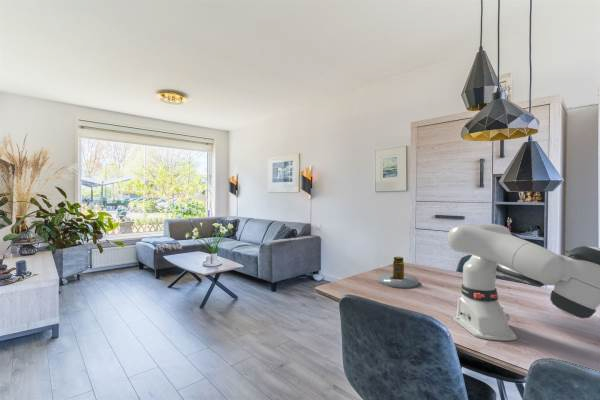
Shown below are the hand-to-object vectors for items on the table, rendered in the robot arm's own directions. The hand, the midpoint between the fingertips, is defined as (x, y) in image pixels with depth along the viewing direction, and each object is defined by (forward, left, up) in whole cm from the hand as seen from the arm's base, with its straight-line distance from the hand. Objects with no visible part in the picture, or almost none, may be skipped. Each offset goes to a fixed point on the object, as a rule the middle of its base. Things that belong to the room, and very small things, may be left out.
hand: (472, 230), depth 150 cm
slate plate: (+14, +34, -32) cm, 49 cm away
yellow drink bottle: (+14, +34, -30) cm, 48 cm away
